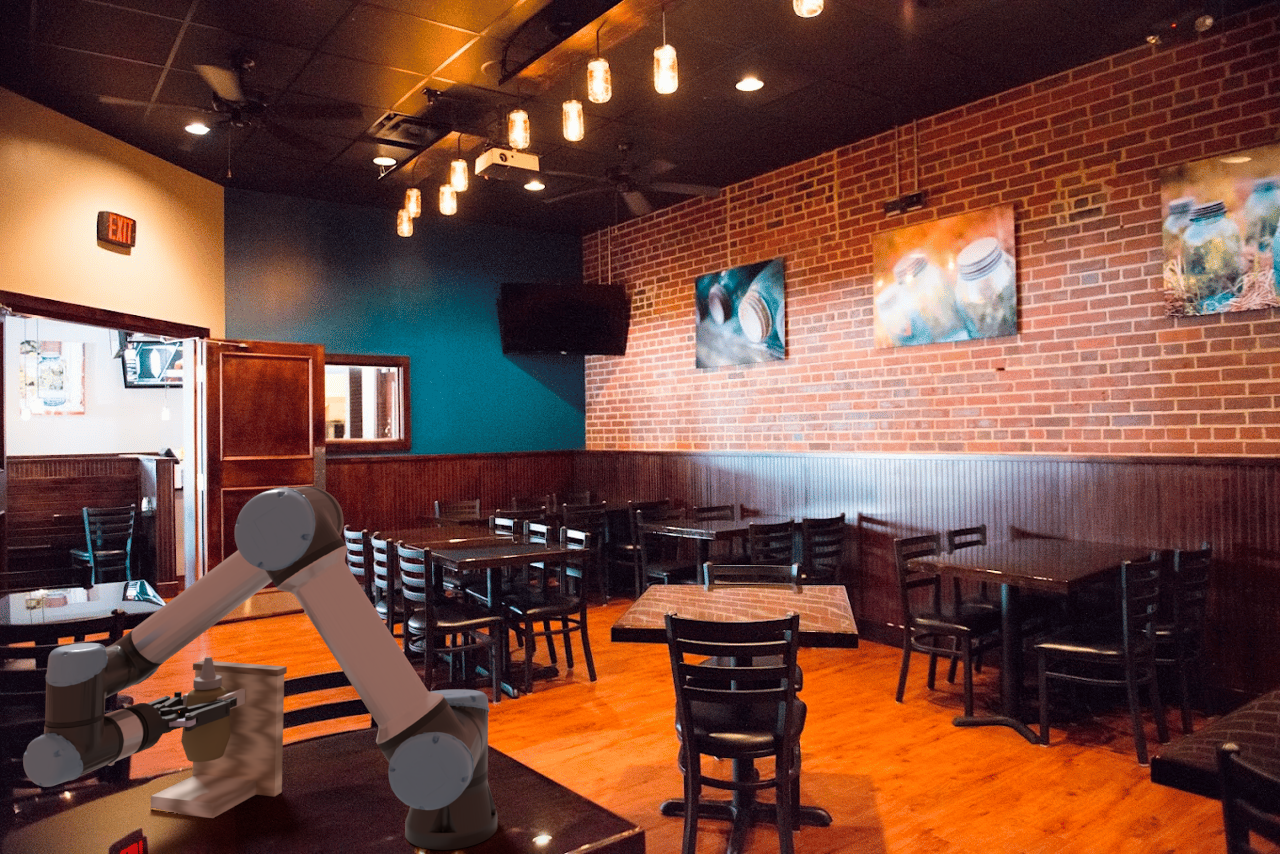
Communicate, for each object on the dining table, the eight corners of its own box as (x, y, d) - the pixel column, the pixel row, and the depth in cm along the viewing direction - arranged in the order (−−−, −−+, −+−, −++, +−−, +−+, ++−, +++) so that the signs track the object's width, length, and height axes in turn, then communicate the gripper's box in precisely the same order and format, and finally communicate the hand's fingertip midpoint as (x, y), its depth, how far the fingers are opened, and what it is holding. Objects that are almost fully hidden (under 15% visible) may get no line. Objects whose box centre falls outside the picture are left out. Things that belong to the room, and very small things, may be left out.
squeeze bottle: (210, 767, 151) (212, 663, 152) (170, 763, 153) (172, 661, 153) (240, 752, 159) (242, 654, 160) (201, 748, 161) (204, 651, 161)
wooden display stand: (284, 792, 160) (286, 666, 161) (234, 820, 147) (237, 684, 148) (199, 782, 165) (203, 660, 166) (144, 809, 152) (148, 677, 153)
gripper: (76, 750, 141) (182, 711, 163) (176, 760, 136) (271, 718, 159) (78, 704, 141) (183, 671, 164) (177, 713, 137) (272, 677, 159)
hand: (226, 694), depth 161 cm, fingers closed on squeeze bottle, 6 cm apart
